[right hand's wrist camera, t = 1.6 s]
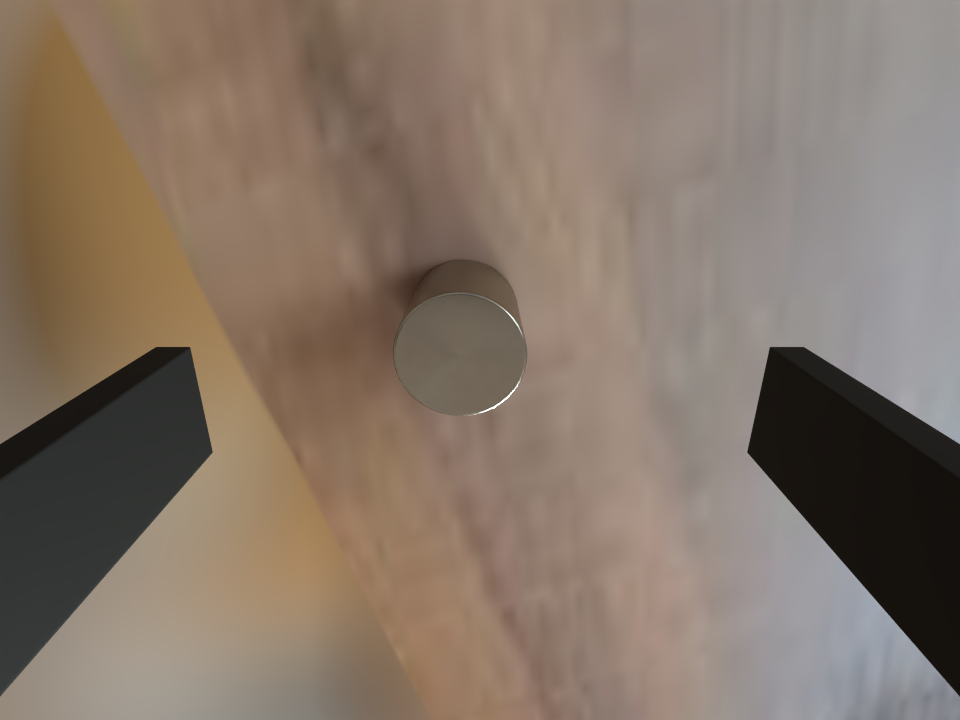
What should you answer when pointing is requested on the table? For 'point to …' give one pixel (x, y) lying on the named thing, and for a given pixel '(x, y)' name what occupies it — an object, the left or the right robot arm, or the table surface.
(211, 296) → the table surface
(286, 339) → the table surface
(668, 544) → the table surface
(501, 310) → the canister
